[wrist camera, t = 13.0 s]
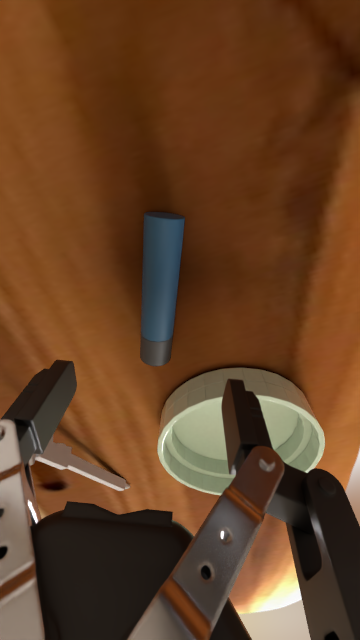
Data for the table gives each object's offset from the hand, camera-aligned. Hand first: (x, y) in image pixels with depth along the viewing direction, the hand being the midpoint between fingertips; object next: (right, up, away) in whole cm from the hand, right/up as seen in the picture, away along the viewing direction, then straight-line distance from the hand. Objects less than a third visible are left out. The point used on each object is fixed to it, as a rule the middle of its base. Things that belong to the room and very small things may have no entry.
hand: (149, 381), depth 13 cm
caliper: (-12, -17, +25) cm, 33 cm away
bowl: (+9, -10, +20) cm, 24 cm away
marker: (+1, +6, +11) cm, 13 cm away
